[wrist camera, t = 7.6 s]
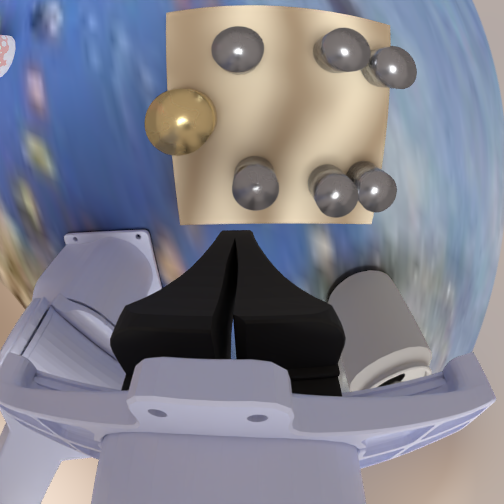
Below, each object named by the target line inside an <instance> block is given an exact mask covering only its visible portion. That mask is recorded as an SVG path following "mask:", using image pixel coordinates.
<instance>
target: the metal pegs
mask: <svg viewBox="0 0 504 504" xmlns="http://www.w3.org/2000/svg"><path fill="white" fill-rule="evenodd" d="M211 52H212V56H213V59H214V60H215V62H216V63H217V64H218V65H219V66H220V67H221V68H222V69H224V70H225V71H227V72H228V73H231V74H236V75H242V74H246V73H249V72H251V71H253V70H254V69H255V68H256V67H257V66H258V65H259V63H260V61H261V59H262V57H263V54H264V43H263V40H262V39H261V37H260V36H259V34H258V33H256V32H255V31H254V30H252V29H250V28H247V27H242V26H235V27H230V28H227V29H225V30H223V31H221V32H220V33H219V34H218V35H217V36H216V37H215V39H214V41H213V43H212V47H211ZM313 55H314V58H315V61H316V62H317V64H318V65H319V66H320V67H321V68H323V69H324V70H326V71H328V72H331V73H344V72H352V71H358V70H361V72H362V74H363V76H364V78H365V79H366V80H367V81H368V82H369V83H370V84H372V85H374V86H377V87H385V88H396V89H405V88H408V87H410V86H411V85H412V84H413V83H414V81H415V79H416V74H417V70H416V65H415V62H414V60H413V58H412V57H411V56H410V54H409V53H408V52H406V51H405V50H404V49H402V48H399V47H396V46H390V47H385V48H380V49H375V50H370V46H369V44H368V42H367V40H366V39H365V38H364V37H363V36H362V35H361V34H360V33H359V32H357V31H355V30H353V29H350V28H337V29H334V30H333V31H331V32H329V33H328V34H326V35H324V36H323V37H321V38H320V39H319V40H317V42H316V43H315V45H314V48H313ZM308 189H309V191H310V193H311V195H312V197H313V198H314V200H315V202H316V204H317V206H318V208H319V209H320V211H321V212H322V213H323V214H325V215H326V216H329V217H333V218H339V217H343V216H345V215H347V214H349V213H350V212H351V211H352V210H353V209H354V208H355V206H356V204H357V202H358V201H359V202H360V204H361V205H362V206H363V207H364V208H365V209H366V210H368V211H370V212H381V211H384V210H385V209H387V208H388V207H389V206H390V205H391V204H392V203H393V201H394V200H395V197H396V192H397V188H396V183H395V181H394V180H393V178H392V177H391V176H389V175H388V174H387V173H385V172H384V171H383V170H381V169H380V168H379V167H377V166H376V165H374V164H373V163H371V162H369V161H359V162H356V163H355V164H353V165H352V166H351V167H350V168H349V170H348V172H347V174H346V175H345V174H344V173H343V172H342V171H341V170H340V169H339V168H338V167H336V166H334V165H331V164H324V165H321V166H318V167H317V168H315V169H314V170H313V171H312V172H311V174H310V176H309V179H308ZM232 193H233V196H234V199H235V200H236V202H237V203H238V204H239V205H240V206H242V207H243V208H245V209H248V210H253V211H258V210H263V209H266V208H268V207H269V206H271V205H272V204H273V203H274V202H275V200H276V199H277V197H278V194H279V183H278V180H277V177H276V174H275V171H274V168H273V166H272V164H271V163H270V162H269V161H268V160H267V159H265V158H263V157H260V156H249V157H246V158H244V159H243V160H241V161H240V162H239V163H238V165H237V166H236V168H235V171H234V178H233V185H232Z"/></svg>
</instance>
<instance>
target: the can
mask: <svg viewBox="0 0 504 504" xmlns="http://www.w3.org/2000/svg"><path fill="white" fill-rule="evenodd" d="M328 304H330V305H332V306H333V308H334V310H335V312H336V313H337V315H338V317H339V319H340V321H341V324H342V326H343V329H344V333H345V337H346V340H345V346H344V348H343V351H342V353H341V359H342V362H343V366H344V370H345V374H346V378H347V382H348V385H349V389H350V391H351V392H353V391H359V390H365V389H371V388H376V387H381V386H386V385H391V384H396V383H400V382H404V381H409V380H413V379H417V378H420V377H424V376H428V375H431V369H430V368H429V365H430V362H431V359H432V352H431V350H430V348H429V346H428V344H427V342H426V340H425V338H424V336H423V334H422V332H421V330H420V328H419V326H418V324H417V323H416V321H415V319H414V317H413V315H412V313H411V312H410V310H409V308H408V306H407V304H406V303H405V301H404V299H403V297H402V296H401V294H400V292H399V290H398V289H397V287H396V285H395V284H394V282H393V280H392V279H391V278H390V277H389V276H388V275H387V274H385V273H383V272H381V271H373V270H369V271H364V272H359V273H356V274H354V275H352V276H349V277H348V278H346V279H345V280H344V281H343V282H341V283H340V284H339V285H338V286H337V287H336V288H335V289H334V291H333V292H332V293H331V295H330V298H329V301H328Z"/></svg>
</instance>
